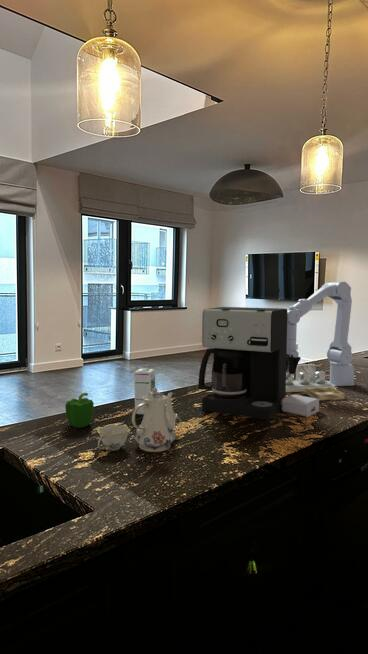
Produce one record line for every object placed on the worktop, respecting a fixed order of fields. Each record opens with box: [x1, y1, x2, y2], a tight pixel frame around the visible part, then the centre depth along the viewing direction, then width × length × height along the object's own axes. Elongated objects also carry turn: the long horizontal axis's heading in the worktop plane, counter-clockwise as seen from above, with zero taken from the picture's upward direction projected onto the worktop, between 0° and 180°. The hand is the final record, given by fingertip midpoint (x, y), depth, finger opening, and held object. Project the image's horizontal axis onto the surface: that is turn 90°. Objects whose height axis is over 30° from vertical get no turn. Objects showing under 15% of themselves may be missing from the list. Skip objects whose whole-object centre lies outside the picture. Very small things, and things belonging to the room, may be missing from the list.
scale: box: [286, 363, 336, 393], centre depth 188 cm, size 22×13×8 cm, turn 100°
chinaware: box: [96, 386, 182, 453], centre depth 122 cm, size 28×17×17 cm, turn 141°
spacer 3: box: [314, 370, 326, 384], centre depth 188 cm, size 4×4×4 cm
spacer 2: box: [298, 372, 310, 385], centre depth 186 cm, size 4×4×4 cm
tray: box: [304, 387, 346, 401], centre depth 174 cm, size 11×11×2 cm
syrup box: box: [133, 367, 156, 415], centre depth 152 cm, size 6×6×14 cm
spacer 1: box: [286, 371, 295, 385], centre depth 185 cm, size 4×4×4 cm
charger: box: [281, 394, 320, 418], centre depth 154 cm, size 5×9×15 cm
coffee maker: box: [197, 306, 288, 421], centre depth 157 cm, size 28×20×35 cm
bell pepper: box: [64, 392, 95, 429], centre depth 137 cm, size 8×8×10 cm
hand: (288, 372), depth 185 cm, fingers open, 7 cm apart
